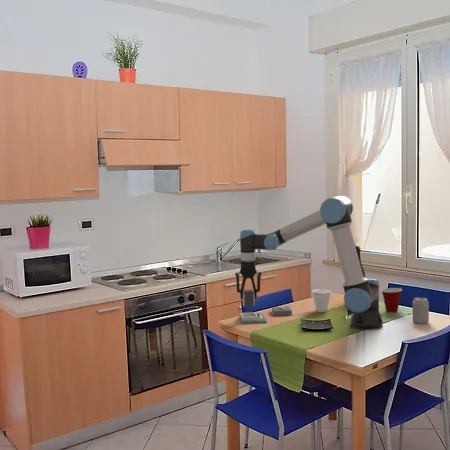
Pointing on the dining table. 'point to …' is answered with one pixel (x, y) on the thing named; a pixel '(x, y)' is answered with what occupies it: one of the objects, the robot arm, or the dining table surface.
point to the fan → (281, 311)
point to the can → (420, 310)
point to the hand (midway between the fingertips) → (248, 305)
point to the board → (252, 318)
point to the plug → (248, 298)
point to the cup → (321, 299)
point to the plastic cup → (391, 299)
